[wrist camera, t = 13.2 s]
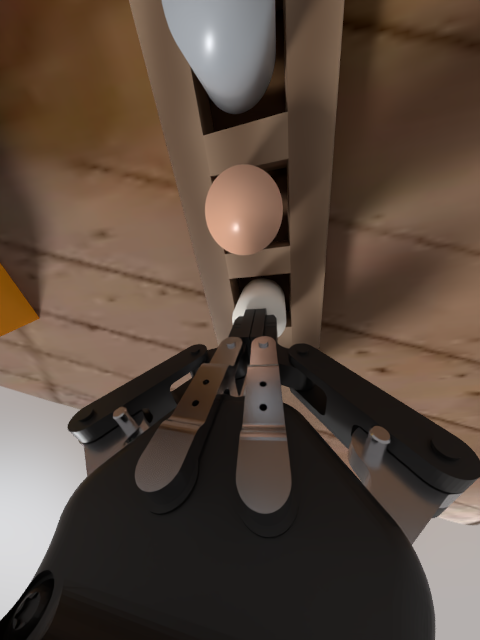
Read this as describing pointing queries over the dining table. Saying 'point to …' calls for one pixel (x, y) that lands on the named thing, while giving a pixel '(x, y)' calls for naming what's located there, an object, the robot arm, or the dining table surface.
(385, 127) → the dining table surface
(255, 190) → the peach egg
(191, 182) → the tan frame
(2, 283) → the orange juice
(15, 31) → the dining table surface
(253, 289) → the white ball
